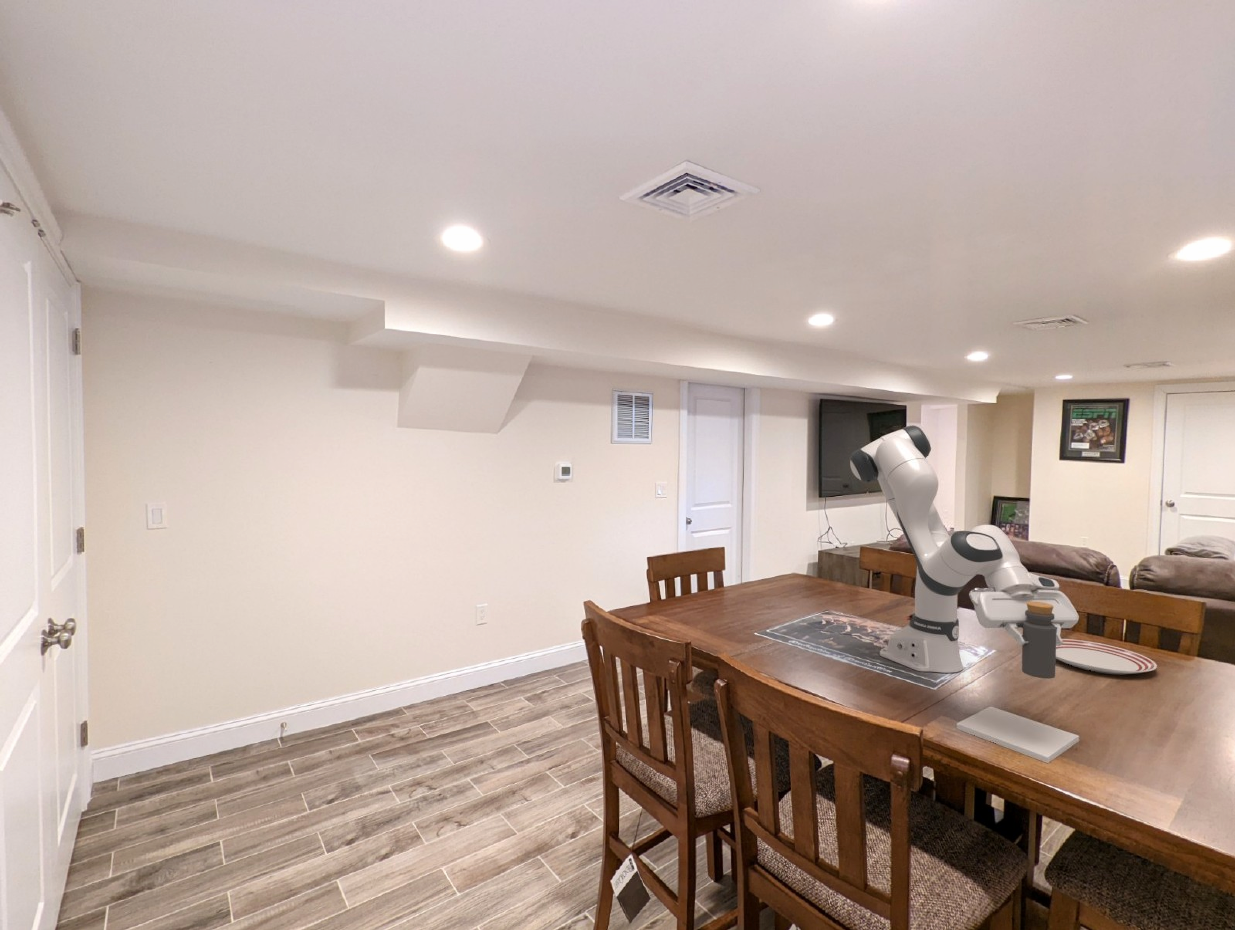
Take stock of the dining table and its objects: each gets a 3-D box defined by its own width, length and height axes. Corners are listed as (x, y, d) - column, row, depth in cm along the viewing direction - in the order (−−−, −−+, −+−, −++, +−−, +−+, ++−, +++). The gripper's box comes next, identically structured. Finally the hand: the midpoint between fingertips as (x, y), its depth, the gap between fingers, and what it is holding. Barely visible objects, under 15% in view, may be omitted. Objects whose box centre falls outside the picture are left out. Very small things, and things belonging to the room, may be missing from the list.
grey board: (956, 728, 136) (956, 723, 136) (990, 711, 144) (990, 706, 144) (1047, 763, 121) (1047, 757, 121) (1078, 741, 130) (1079, 735, 130)
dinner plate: (1110, 649, 189) (1110, 638, 188) (1184, 683, 161) (1184, 671, 161) (1018, 646, 191) (1018, 636, 191) (1076, 680, 164) (1076, 668, 164)
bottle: (1015, 669, 129) (1016, 600, 129) (1040, 668, 130) (1041, 600, 130) (1036, 679, 124) (1037, 608, 123) (1062, 678, 124) (1064, 607, 124)
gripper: (972, 580, 133) (998, 637, 124) (1064, 580, 133) (1097, 637, 124) (960, 595, 138) (985, 651, 129) (1049, 595, 138) (1081, 651, 128)
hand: (1041, 644), depth 126 cm, fingers closed on bottle, 6 cm apart
